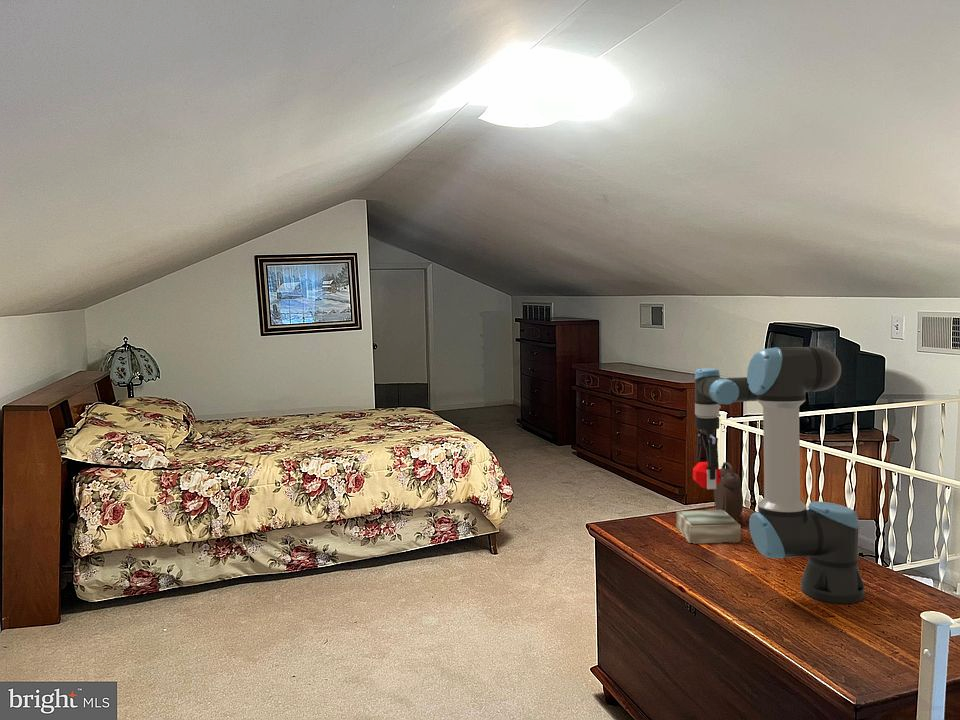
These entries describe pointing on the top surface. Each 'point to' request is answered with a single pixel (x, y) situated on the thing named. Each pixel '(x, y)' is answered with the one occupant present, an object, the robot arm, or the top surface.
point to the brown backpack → (729, 492)
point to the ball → (704, 474)
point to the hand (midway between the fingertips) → (707, 485)
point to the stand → (708, 526)
